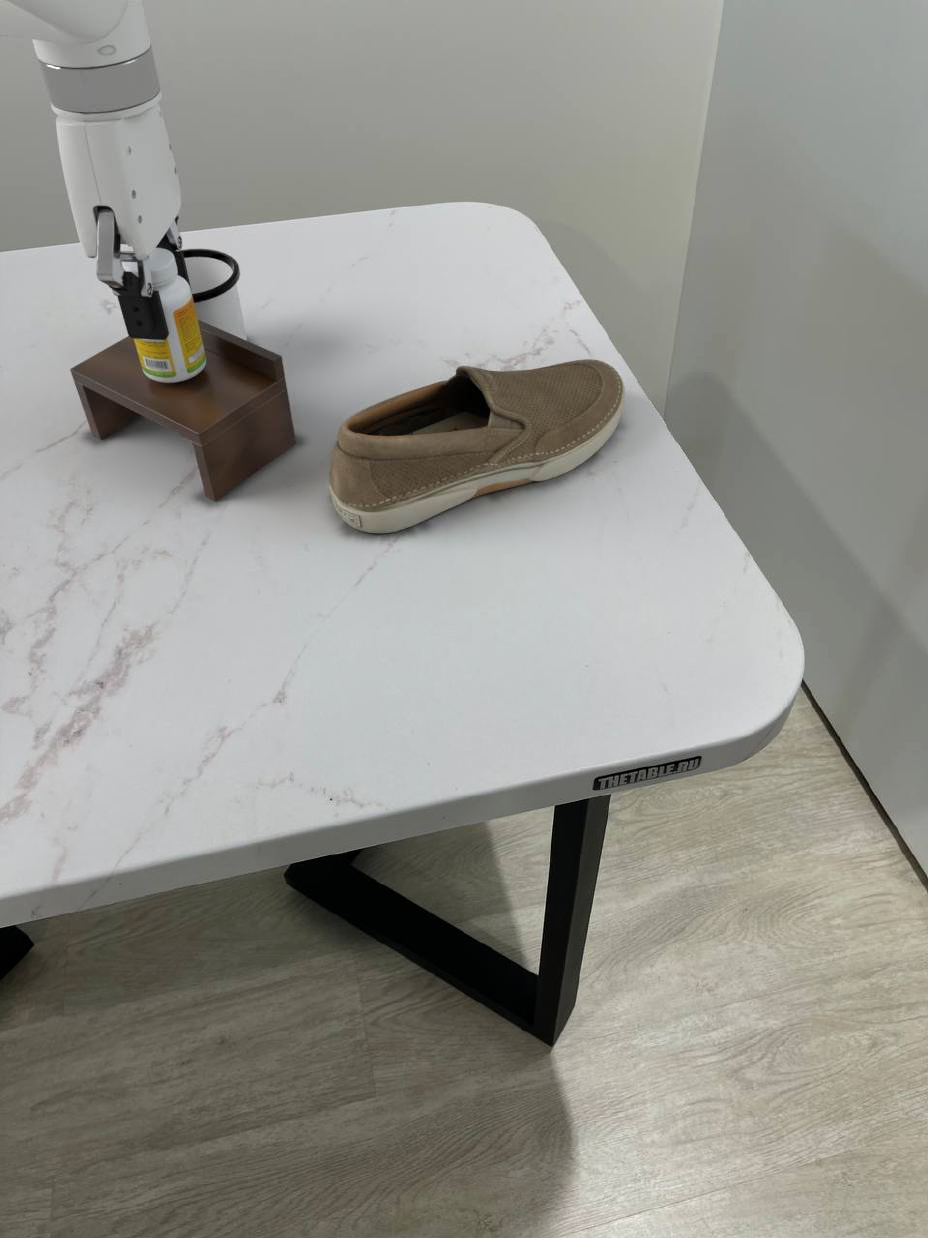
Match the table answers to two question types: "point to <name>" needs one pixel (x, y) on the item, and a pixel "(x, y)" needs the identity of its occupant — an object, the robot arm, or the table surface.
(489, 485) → the slip on shoe
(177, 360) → the supplement bottle
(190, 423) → the shelf
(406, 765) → the table surface
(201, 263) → the mug
